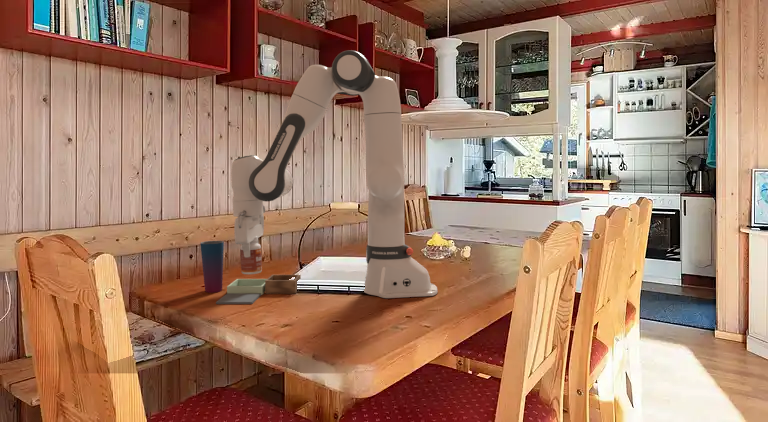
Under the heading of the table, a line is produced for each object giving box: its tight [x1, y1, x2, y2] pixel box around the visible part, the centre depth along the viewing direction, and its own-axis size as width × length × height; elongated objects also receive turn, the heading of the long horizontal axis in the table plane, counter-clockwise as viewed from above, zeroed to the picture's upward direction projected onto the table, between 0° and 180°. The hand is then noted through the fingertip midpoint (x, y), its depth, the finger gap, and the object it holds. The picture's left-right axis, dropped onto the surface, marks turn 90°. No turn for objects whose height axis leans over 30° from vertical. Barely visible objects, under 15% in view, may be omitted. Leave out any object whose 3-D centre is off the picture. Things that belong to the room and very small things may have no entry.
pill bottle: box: [239, 236, 263, 275], centre depth 163 cm, size 6×6×11 cm
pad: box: [215, 292, 262, 305], centre depth 153 cm, size 10×10×1 cm
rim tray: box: [226, 278, 268, 296], centre depth 163 cm, size 10×10×2 cm
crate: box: [264, 274, 302, 295], centre depth 163 cm, size 9×9×4 cm
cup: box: [199, 240, 225, 294], centre depth 163 cm, size 7×7×15 cm
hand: (251, 254), depth 163 cm, fingers closed on pill bottle, 6 cm apart
